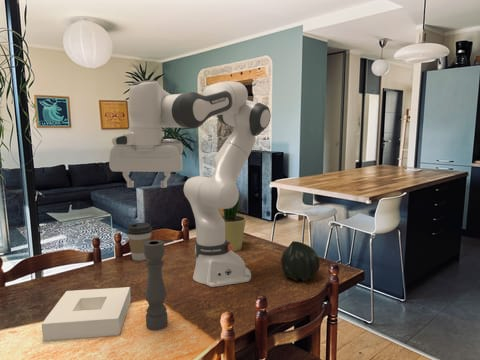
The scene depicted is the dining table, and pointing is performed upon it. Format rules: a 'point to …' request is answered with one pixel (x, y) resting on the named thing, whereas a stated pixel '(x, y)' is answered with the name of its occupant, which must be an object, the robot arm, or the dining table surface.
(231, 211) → the potted cactus
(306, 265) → the squash
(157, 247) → the candle holder
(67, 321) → the socket block
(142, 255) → the coffee cup
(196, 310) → the dining table surface
